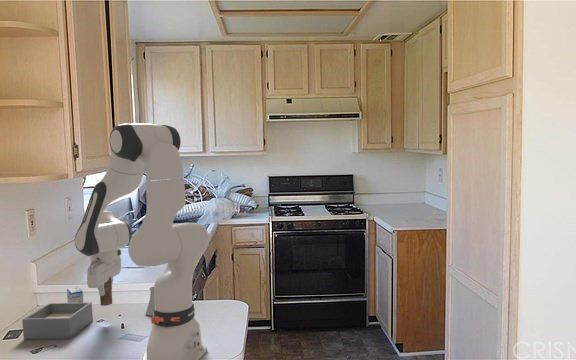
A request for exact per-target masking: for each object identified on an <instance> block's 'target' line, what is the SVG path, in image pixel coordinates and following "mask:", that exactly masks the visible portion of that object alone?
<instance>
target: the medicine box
mask: <svg viewBox="0 0 576 360" xmlns="http://www.w3.org/2000/svg"><path fill="white" fill-rule="evenodd" d="M66 297H67V298H66V299H67V303H85V302H84V291H83V290H82V289H81V288H80V287H79V286H75V287H68V288H66Z"/></svg>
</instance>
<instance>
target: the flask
mask: <svg viewBox="0 0 576 360" xmlns="http://www.w3.org/2000/svg"><path fill="white" fill-rule="evenodd" d="M149 291H150V298H149V299H148V300H149V302H148V305H147V309H146V311H145V316H150V317H153V313H154V308H155V295H154V286H150V287H149Z"/></svg>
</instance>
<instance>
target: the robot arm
mask: <svg viewBox="0 0 576 360" xmlns="http://www.w3.org/2000/svg"><path fill="white" fill-rule="evenodd" d="M181 143H182V142H181V136H180V133H179V131H178V130H177V128H175V127H173V126H171V125H166V124H161V125H160V124H152V123H148V122H147V123H144V122H143V123H141V122H140V123H139V122H138V123H127V122H126V123H122V124H117V125H115V126H114V127H113V128H112V130H111V132H110V134H109V145H110V150H111V154H110V157H109V162H108V166H107V171H106V172H105V174H104V176H103V177H102V179H101V180H100V181H99V182H97V183H96V184H95V185H94V188H93V190H92V191H91V195H90V198H89V200H88V203H87V206H86V209H85V211H84V215H83V218H82V222H81V223H80V226H79V227H78V229H77V231H76V233H75V236H74V246H75V249H76V250H77V251H78V252H80V253H81V254H82V255H84V256H86V257H90V258H89V260H90V265H89V266H88V267H87V271H86V274H87V275H86V283H87V287H88V288H89V289H97V291H98V295H99V297H100V296H104V295H105V294H106V290H104V283H105V282H107V281H108V280H109V277H110V276H111V288H112V289H113V282H114V277H116V276H117V275H119V274H120V273H121V271H122V258H121V255H122V249H123V248H125V247H127V249H128V250H127V251H128V256H129V259H130V260H131V261H132V262H133V263H134V264H135V265H136V266H138V267H145V268H146V267H156V266H161V265H166V268H165V270H164V271H163V272H162V273H161V274H160V275H159V276H158V277H157V279H156V280H155V281H154V285H153V287H154V295H155V308H154V313H153V316H151V319H150V320H151V321H150V322H151V330H150V333H149V338H148V341H147V344H146V345H147V346H146V349H145V351H144V354H143V356H142V359H141V360H201V358H202V357H203V356H204V355H205V354H206V353H207V352H208V348H207V346H206V345H204V344H202V343H203V341H202V333H201V324H200V323H199V321H197V320H196V318H195V315H196V314H195V311H196V310H195V309H196V308H195V305H194V303H193V278H194V273H195V271H196V267H197V265H198V261H199V260H200V258H201V257H202V255H203V254H204V253H205V252H206V251H207V250H208V247H209V244H210V236H209V232H208V230H207V228H206V227H205V226H204V225H203V224H201V223H198V222H182V223H178V224H177V223H176V224H174V220H175V217H176V216H177V214H178V212H180V211H181V210H182V209H183V208H184V207H185V205H186V202H187V201H186V200H187V198H186V185H185V177H184V168H183V163H182V158H181V156H180V151H179V150H180V147H181ZM144 172H145V186H146V200H147V201H146V212H145V215H144V218H143V221H142V223H141V225H140V227H139V229H138V230H137V231H136V232H135V233H134V234H133V233H132V228H131V227H130V225H129V224H128V223H127V222H126V221H121V220H120V219H118V218H116V217H115V216H114V213H113V212H112V211H111V210H106V208H107V207H108V206H109V205H110V204H111V203H113V202H114V201H116V200H118V199H120V198H122V197H124V196H127V195H130V194H131V193H133V192H135V191H136V190H137V189H138V188H139V187H140V185H141V183H142V180H143V176H144Z"/></svg>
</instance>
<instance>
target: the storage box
mask: <svg viewBox="0 0 576 360" xmlns="http://www.w3.org/2000/svg"><path fill="white" fill-rule="evenodd" d="M21 321H22V333H23V334H22V335H23V340H24V339H25V340H24V341H27V340H26V339H30V340H31V341H33V340H34V341H35V340H36V339H38V340H39V339H40V340H41V341H42V340H71V339H72V338H73V337H75V336H76V335H78V333H80V332H81V331H82V330H84V329H85V328H86V327H87V326H88V325H90V324H91V323H92V322H93V321H94V318H93V303H92V301H91V302H84V303H68V302H51V303H49V302H48V303H47V304H46V305H43V306H42V307H40V308H39V309H38V310H36V311H34V312H32V313H31V314H29V315H28V316H26V317H24V318H22V320H21ZM32 339H33V340H32ZM38 340H37V341H38Z"/></svg>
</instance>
